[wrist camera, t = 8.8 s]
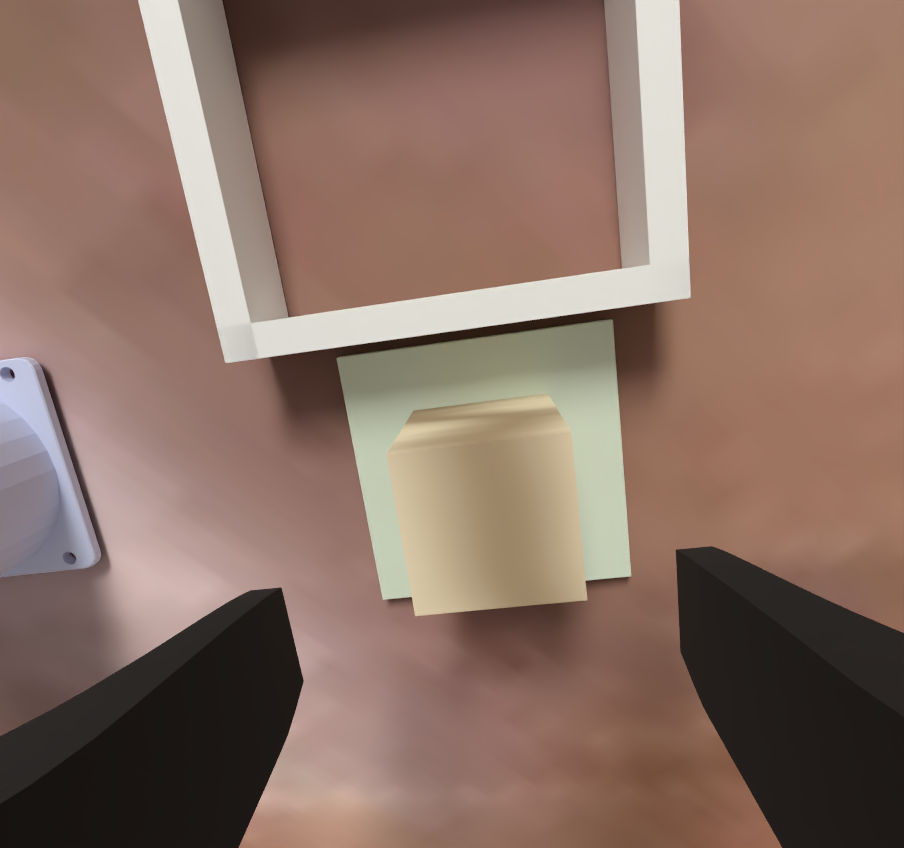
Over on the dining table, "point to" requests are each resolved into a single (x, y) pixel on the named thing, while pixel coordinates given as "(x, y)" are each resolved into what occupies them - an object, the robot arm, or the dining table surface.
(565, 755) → the dining table surface
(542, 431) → the wood block
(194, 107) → the box
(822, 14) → the dining table surface
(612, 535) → the pad
